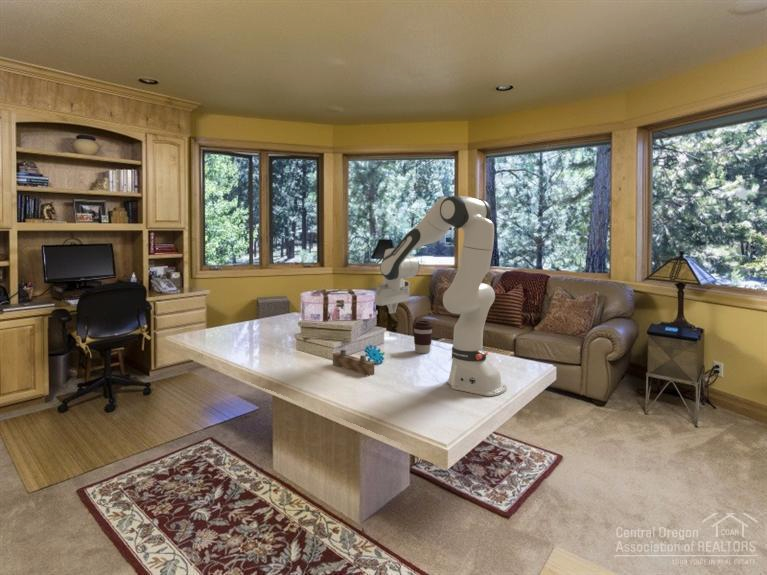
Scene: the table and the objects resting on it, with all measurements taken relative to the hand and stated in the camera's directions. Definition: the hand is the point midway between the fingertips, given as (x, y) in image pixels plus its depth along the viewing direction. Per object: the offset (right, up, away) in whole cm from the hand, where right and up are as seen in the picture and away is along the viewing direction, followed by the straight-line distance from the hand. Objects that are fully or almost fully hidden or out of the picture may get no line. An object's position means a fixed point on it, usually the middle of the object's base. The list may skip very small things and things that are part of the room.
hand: (392, 313), depth 205 cm
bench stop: (-17, -23, -16) cm, 33 cm away
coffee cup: (+15, -20, +14) cm, 28 cm away
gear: (-8, -22, -5) cm, 24 cm away
